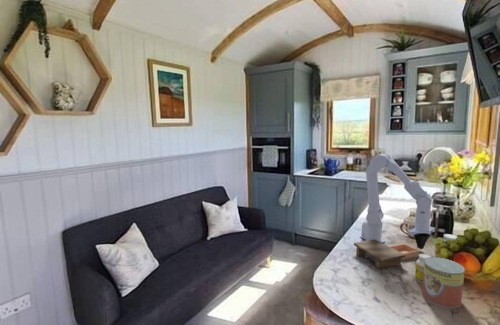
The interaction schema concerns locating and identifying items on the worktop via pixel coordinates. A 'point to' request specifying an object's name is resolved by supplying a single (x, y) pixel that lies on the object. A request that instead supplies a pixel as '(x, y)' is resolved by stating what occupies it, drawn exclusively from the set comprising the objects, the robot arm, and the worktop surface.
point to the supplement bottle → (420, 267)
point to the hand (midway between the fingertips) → (420, 248)
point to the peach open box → (406, 251)
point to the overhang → (379, 253)
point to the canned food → (443, 282)
